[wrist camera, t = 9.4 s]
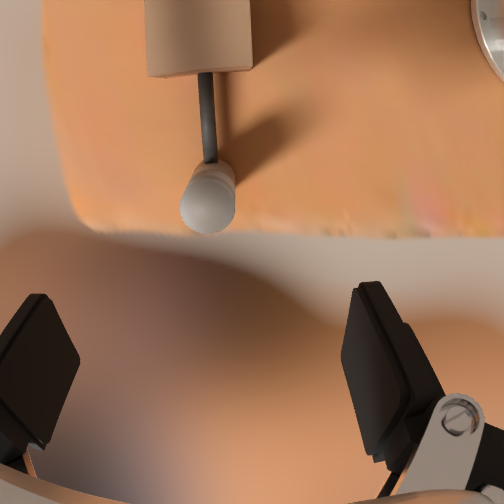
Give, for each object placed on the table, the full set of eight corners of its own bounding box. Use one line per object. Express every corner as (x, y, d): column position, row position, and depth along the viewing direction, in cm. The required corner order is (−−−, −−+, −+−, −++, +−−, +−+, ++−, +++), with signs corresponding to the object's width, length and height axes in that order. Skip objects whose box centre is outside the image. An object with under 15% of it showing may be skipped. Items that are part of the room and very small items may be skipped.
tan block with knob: (245, -3, 17) (249, -34, 11) (254, 194, 25) (260, 230, 19) (162, 5, 17) (137, -20, 11) (178, 200, 25) (161, 237, 19)
